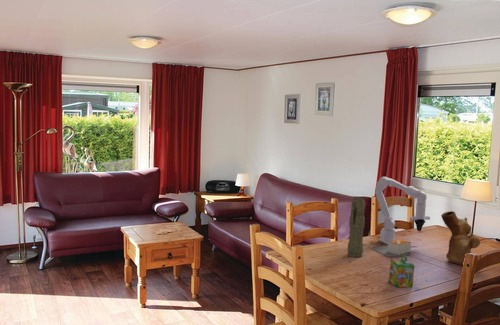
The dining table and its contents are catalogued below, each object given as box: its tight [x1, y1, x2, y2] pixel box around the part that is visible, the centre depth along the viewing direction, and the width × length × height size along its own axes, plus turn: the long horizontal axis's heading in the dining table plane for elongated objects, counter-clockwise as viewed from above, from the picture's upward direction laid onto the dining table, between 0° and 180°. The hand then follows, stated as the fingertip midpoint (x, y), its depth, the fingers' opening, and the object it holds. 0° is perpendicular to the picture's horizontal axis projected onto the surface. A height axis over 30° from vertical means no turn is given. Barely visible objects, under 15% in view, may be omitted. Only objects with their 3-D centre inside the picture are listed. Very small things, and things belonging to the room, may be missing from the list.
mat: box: [368, 245, 411, 258], centre depth 288 cm, size 20×16×1 cm
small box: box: [387, 239, 412, 255], centre depth 286 cm, size 8×6×13 cm
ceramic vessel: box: [440, 210, 481, 266], centre depth 269 cm, size 16×22×30 cm
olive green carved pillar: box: [347, 196, 366, 259], centre depth 275 cm, size 9×12×35 cm
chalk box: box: [388, 255, 415, 288], centre depth 231 cm, size 9×9×15 cm
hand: (418, 230), depth 300 cm, fingers closed
